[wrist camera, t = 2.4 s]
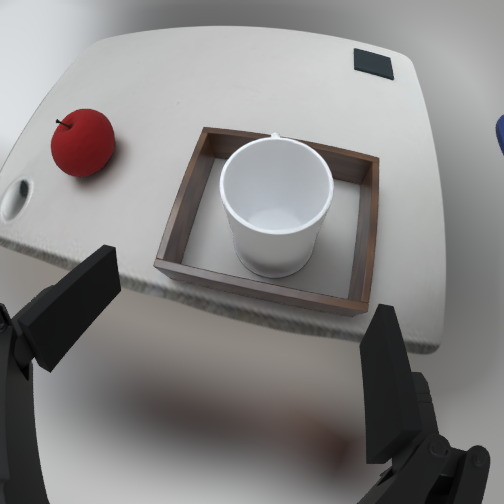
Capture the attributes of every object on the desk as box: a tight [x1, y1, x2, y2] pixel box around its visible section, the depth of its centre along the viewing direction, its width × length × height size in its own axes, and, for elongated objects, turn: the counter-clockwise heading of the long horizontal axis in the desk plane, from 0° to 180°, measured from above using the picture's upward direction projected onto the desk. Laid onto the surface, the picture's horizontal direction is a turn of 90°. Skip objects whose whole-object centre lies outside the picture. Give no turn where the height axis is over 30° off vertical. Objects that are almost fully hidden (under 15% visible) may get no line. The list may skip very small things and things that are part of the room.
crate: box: [154, 127, 379, 317], centre depth 30 cm, size 16×20×5 cm
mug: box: [220, 133, 334, 278], centre depth 26 cm, size 12×8×12 cm
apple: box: [51, 109, 115, 177], centre depth 32 cm, size 9×9×10 cm
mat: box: [354, 48, 394, 80], centre depth 40 cm, size 7×7×1 cm
